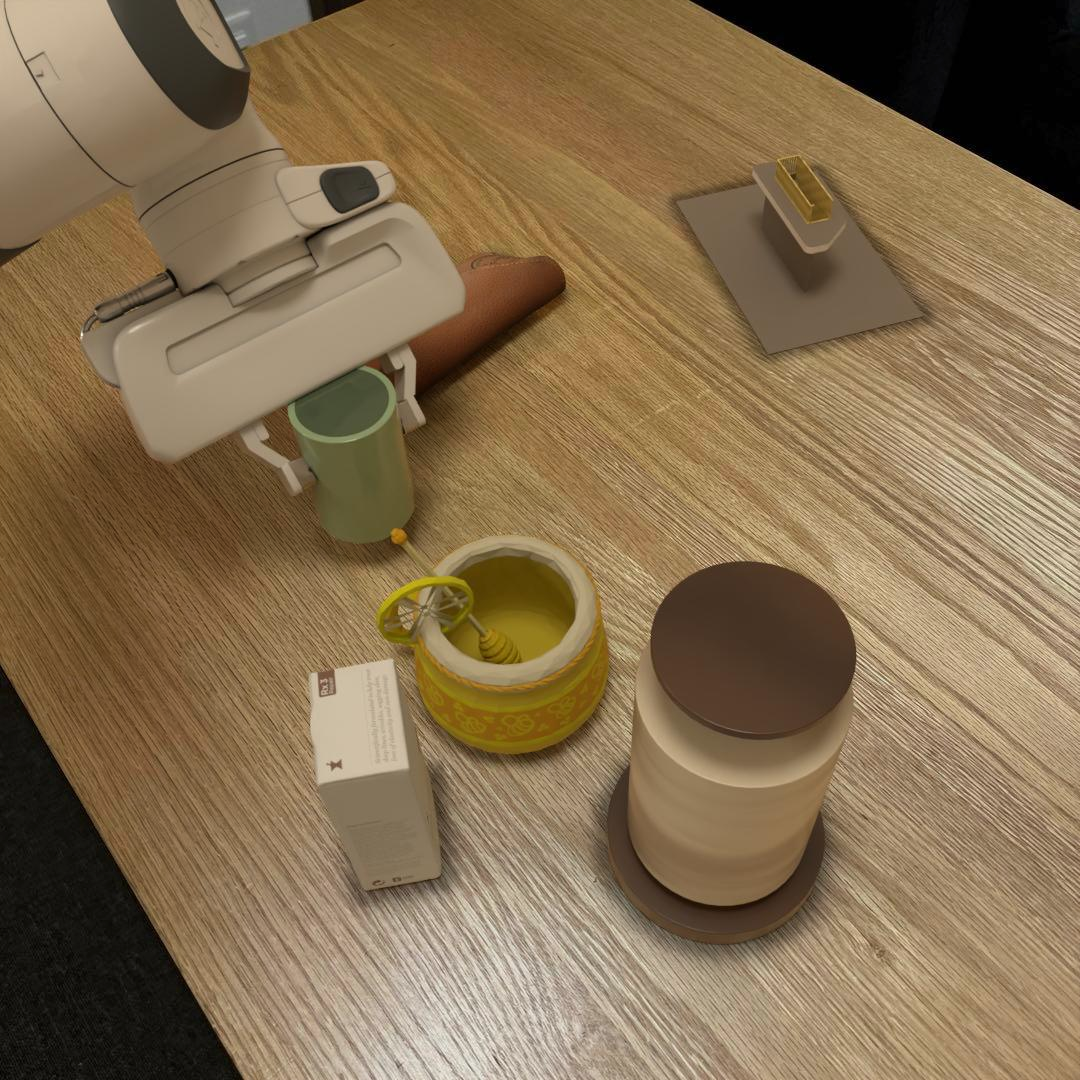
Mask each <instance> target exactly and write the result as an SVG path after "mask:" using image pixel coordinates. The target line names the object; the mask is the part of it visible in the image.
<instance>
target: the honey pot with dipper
mask: <svg viewBox="0 0 1080 1080" xmlns="http://www.w3.org/2000/svg"><path fill="white" fill-rule="evenodd" d="M390 537H391V538H390V539H391V542H392V543H393V544H396V545H399V546H401V547H402V548H403V549H404V550H405V551H406V552H407V553H408V555H409V556H410V557H411V558H412V560H414V561H415V562H416V564H417V565H418V566H419V567H420V568H421V570H422V571H424V572H425V574H426V575H425V576H424V577H422V578H419V579H416V580H413V581H410V582H409V583H407V584H405V585H403V586H401V587H400V588H398V589H396V590H395V591H393V592H391V594H390V595H388V596H387V597H386V599H385V600H384V601H383V602H382V603H381V605H379V608H378V610H377V612H376V615H375V621H376V623H375V624H376V626H377V629H378V631H379V633H380V635H381V636H382V637H383V639H384V640H386V641H388V642H389V643H392V644H400V645H404V646H407V647H409V648H412V649H414V650H413V653H414V654H413V655H414V672H415V673H414V674H415V679H416V683H417V687H418V691H419V695H420V697H421V699H422V701H423V705H424V707H425V708H426V709H427V711H428V712H429V714H430V715H431V717H432V718H433V720H434V721H435V722H436V723H437V724H438V725H439V726H440V727H442V728H443V729H444V730H445V731H446V732H447V733H448V734H449V735H450V736H452V737H453V738H455V739H457V740H458V741H460V742H462V743H464V744H465V745H467V746H470V747H473V748H476V749H479V750H481V751H484V752H487V753H493V754H504V755H505V754H506V755H517V754H525V753H531V752H538V751H541V750H543V749H546V748H548V747H550V746H554V745H555V744H558V743H560V742H562V741H563V740H565V739H566V738H568V737H569V736H570V735H572V734H573V733H575V732H576V731H578V729H579V728H580V727H582V725H583V724H584V723H585V722H587V720H588V719H590V717H591V716H592V715H593V714H594V712H595V711H596V708H597V707H598V705H599V703H600V701H601V700H602V698H603V696H604V694H605V689H606V685H607V681H608V677H609V671H610V649H609V644H608V640H607V639H608V638H607V634H606V629H605V625H604V620H603V616H602V602H601V596H600V595H599V590H598V588H597V586H596V582H595V579H594V578H593V577H592V573H591V572H590V571H589V569H588V568H587V567H586V566H585V565H584V563H582V562H581V560H580V559H579V558H577V557H575V556H574V554H572V553H570V552H569V551H568V550H567V549H565V548H564V547H561V546H560V545H559V544H557V543H554V542H552V541H550V540H546V539H543V538H540V537H535V536H531V535H523V534H513V533H506V534H504V533H501V534H495V535H491V536H490V535H489V536H486V537H481V538H478V539H475V540H472V541H468V542H466V543H464V544H462V545H459V546H457V547H456V548H454V549H453V550H450V551H449V552H448V554H446V555H444V556H443V557H442V558H441V559H440V560H439V561H438V562H437V563H435V564H434V566H433V567H431V566H430V565H429V564H428V563H427V562H426V560H425V559H424V558H423V557H422V556H421V555H420V554H419V553H418V552H417V550H416V549H415V547H413V546H412V544H411V543H410V542H409V541H408V536H407V534H406V532H405V531H404V530H403V529H400V530H399V529H393V530H392V531H391V536H390ZM400 607H403V608H406V609H410V610H412V611H408V612H404V613H402V614H399V609H400ZM412 613H413V614H412ZM410 614H412V618H410V619H407V620H403V621H402V620H401V618H403V617H405V616H408V615H410ZM409 622H412V625H411V627H410V629H408V628H406V627H404V625H406V624H407V623H409Z"/></svg>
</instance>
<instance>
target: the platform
mask: <svg viewBox="0 0 1080 1080" xmlns="http://www.w3.org/2000/svg"><path fill="white" fill-rule="evenodd" d="M776 161H777V162H774V161H773V162H772V161H767V162H762V163H758V164H755V165H754V166H753V167H752V173H751V176H752V178H753V179H754V180H755V182H756V183H754V184H749V185H745V186H741V187H737V188H731V189H728V190H722V191H718V192H714V193H709V194H705V195H700V196H695V197H692V198H687V199H682V200H677V201H675V203H676V205H677V207H678V208H679V210H680V211H681V213H682V214H683V217H684V218H685V220H686V221H687V224H689V227H690V228H691V229H692V231H693V233H694V234H695V236H696V238H697V239H698V241H699V243H700V244H701V247H702V248H703V249H704V251H705V252H706V254H707V256H708V258H709V259H710V261H711V263H712V264H713V266H714V267H715V270H716V271H717V273H718V275H719V276H720V277H721V279H722V280H723V282H724V284H725V286H726V287H727V289H728V290H729V293H730V294H731V296H732V297H733V299H734V301H735V302H736V304H737V306H738V307H739V309H740V310H741V312H742V314H743V316H744V317H745V319H746V320H747V322H748V324H749V325H750V328H752V330H753V332H754V333H755V335H756V337H757V339H758V340H759V342H760V343H761V346H762V347H763V349H764V350H765V352H766V353H767V355H772V354H776V353H780V352H784V351H789V350H792V349H796V348H801V347H805V346H809V345H813V344H816V343H820V342H826V341H830V340H832V339H837V338H841V337H845V336H850V335H853V334H857V333H861V332H865V331H869V330H870V331H871V330H873V329H877V328H882V327H886V326H891V325H894V324H899V323H902V322H906V321H911V320H914V319H918V318H923V317H925V315H924V314H923V313H922V311H921V310H920V308H919V307H918V305H916V303H915V302H914V301H913V299H912V298H911V296H910V295H909V294H908V292H907V291H906V289H905V288H904V287H903V286H902V284H901V283H900V282H899V280H898V279H897V277H896V276H895V275H894V274H893V272H892V271H891V269H890V268H889V267H888V265H887V264H886V262H884V260H883V258H882V257H881V256H880V254H879V253H878V252H877V250H876V249H875V248H874V247H873V244H871V242H870V241H869V240H868V238H867V237H866V236H865V235H864V233H863V232H862V230H861V229H860V228H859V226H858V225H857V224H856V222H855V221H854V220H853V218H852V216H851V215H850V214H849V213H848V211H847V210H846V208H845V207H844V206H843V204H841V202H840V201H839V199H838V198H837V196H836V195H835V194H834V193H833V191H832V190H831V188H830V187H829V186H828V184H827V183H826V182H825V180H824V179H823V178H822V176H821V175H820V173H819V172H818V171H817V170H812V169H811V167H810V166H809V165H808V163H807V162H806V161H805V159H804V158H803V157H802V156H801V154H800V153H799V154H796V155H795V154H794V155H790V156H786V157H782V158H777V159H776Z"/></svg>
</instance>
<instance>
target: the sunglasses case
mask: <svg viewBox="0 0 1080 1080" xmlns="http://www.w3.org/2000/svg"><path fill="white" fill-rule="evenodd" d="M455 267H456V269H457V271H458V273H459V275H460V276H461V278H462V281H463V283H464V285H465V288H466V302H465V308H464V311H463V313H461V314H460V315H458V316H456V317H454V318H452V319H450V320H448V321H446V322H444V323H442V324H441V325H439V326H437V327H435V328H433V329H431V330H429V331H427V332H425V333H423V334H421V335H420V336H418V337H416V338H414V339H412V340H410V341H408V342H407V344H408V345H409V347H410V349H411V351H412V353H413V355H414V357H415V359H416V386H415V395H413V396H414V398H415V399H416V401H417V402H418V400H419V399H420V398H422V397H423V396H425V394H427V393H428V392H429V391H430V390H432V388H434V387H435V386H436V385H438V384H439V383H441V382H442V381H443V380H444V379H446V378H447V377H448V376H449V375H450V374H452V373H453V372H454V371H455V370H456V369H458V368H460V367H461V366H462V365H464V364H465V363H466V362H468V361H469V360H471V359H472V358H474V357H475V356H477V355H478V354H479V353H481V352H482V351H484V350H485V349H486V348H487V347H488V346H490V345H491V344H492V343H494V342H495V341H496V340H498V339H499V338H500V337H502V336H503V335H505V334H507V333H508V332H510V331H511V330H512V329H514V328H516V326H518V325H519V324H521V323H522V322H523V321H525V320H526V319H527V318H529V317H530V316H532V315H533V314H535V313H536V312H538V311H539V310H541V309H542V308H543V307H545V306H546V305H548V304H549V303H550V302H552V301H553V300H554V299H556V298H557V297H559V296H561V295H562V294H563V293H564V291H566V289H567V280H566V275H565V272H564V270H563V269H562V266H560V264H559V263H558V262H557V261H556V260H555V259H553V258H552V257H550V256H547V255H535V256H529V257H520V256H511V255H502V254H501V255H500V254H495V253H494V252H490V251H487V252H486V251H485V252H482V253H478V254H476V255H474V256H471V257H469V258H468V259H465V260H464V261H462V262H460V263H458V264H457V265H455ZM364 366H367V367H371V368H373V369H376V370H377V371H379V372H381V373H382V374H384V375H385V376H386V377H387V378H388V379H389V380H390V381H391V383H392V384H393V386H394V388H395V371H393V372H391V373H388V374H386V373H385V372H384V370H383V368H382V367H381V365H380V363H379V361H378V359H377V358H375V359H374V360H372V361H370V362H368V363H366V364H364Z"/></svg>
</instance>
